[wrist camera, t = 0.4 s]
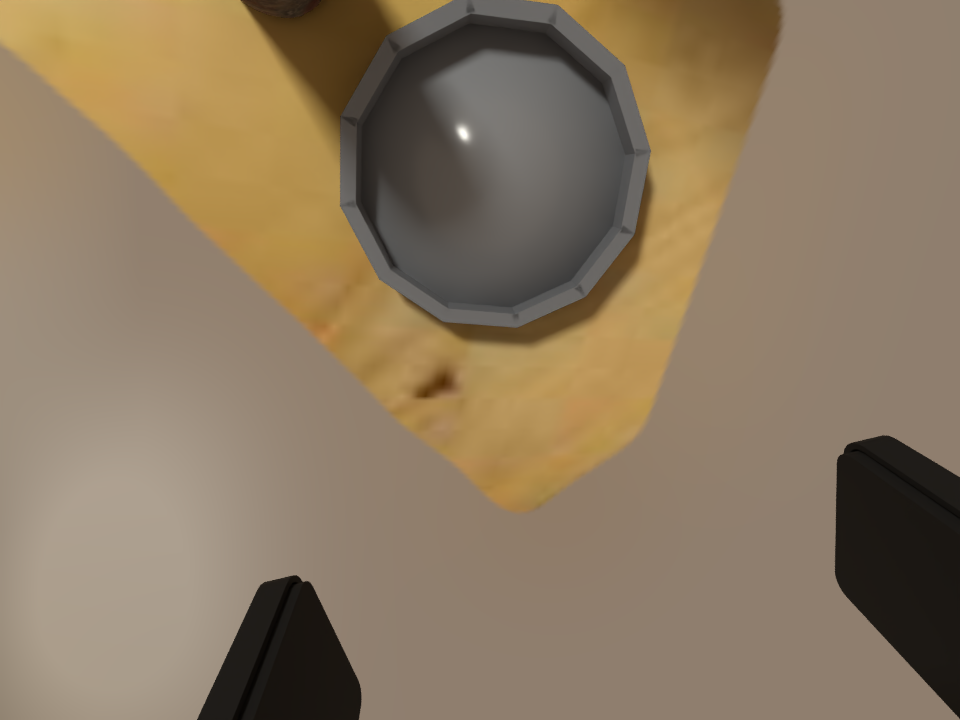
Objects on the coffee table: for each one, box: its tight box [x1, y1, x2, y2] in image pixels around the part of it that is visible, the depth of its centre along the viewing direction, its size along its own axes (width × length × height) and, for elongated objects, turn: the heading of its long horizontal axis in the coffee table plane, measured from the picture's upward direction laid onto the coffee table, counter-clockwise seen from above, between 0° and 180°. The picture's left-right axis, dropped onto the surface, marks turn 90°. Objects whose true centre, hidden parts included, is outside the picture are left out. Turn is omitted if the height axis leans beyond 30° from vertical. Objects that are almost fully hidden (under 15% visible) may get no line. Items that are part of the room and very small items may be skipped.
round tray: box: [340, 0, 651, 328], centre depth 34 cm, size 20×20×3 cm
